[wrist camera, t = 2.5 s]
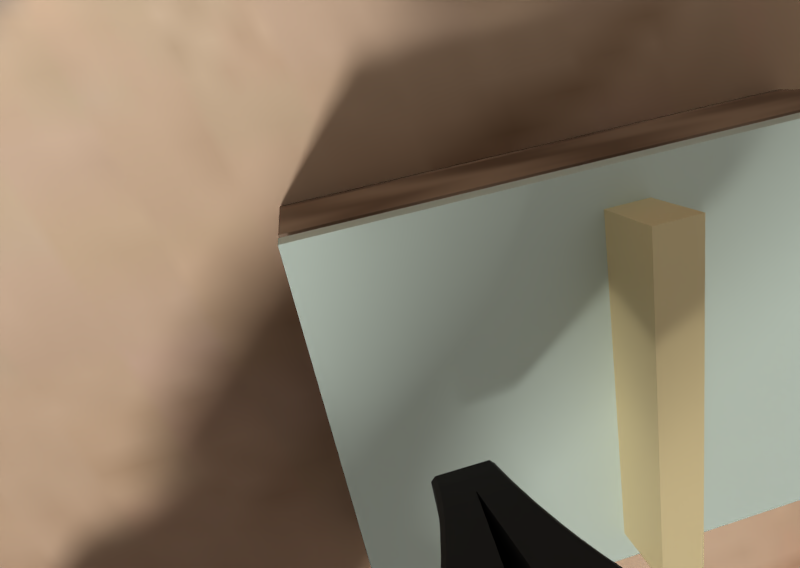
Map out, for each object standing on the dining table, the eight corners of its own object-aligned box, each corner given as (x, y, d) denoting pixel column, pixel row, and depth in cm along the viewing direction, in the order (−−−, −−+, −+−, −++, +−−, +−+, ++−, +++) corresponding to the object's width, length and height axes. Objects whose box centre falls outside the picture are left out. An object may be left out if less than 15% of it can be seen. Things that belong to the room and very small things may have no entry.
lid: (387, 617, 16) (403, 700, 14) (278, 238, 12) (275, 270, 10) (852, 464, 18) (931, 516, 16) (900, 88, 14) (1017, 86, 12)
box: (370, 527, 20) (385, 609, 17) (279, 206, 16) (278, 234, 12) (762, 406, 22) (844, 459, 18) (778, 89, 17) (888, 88, 14)
